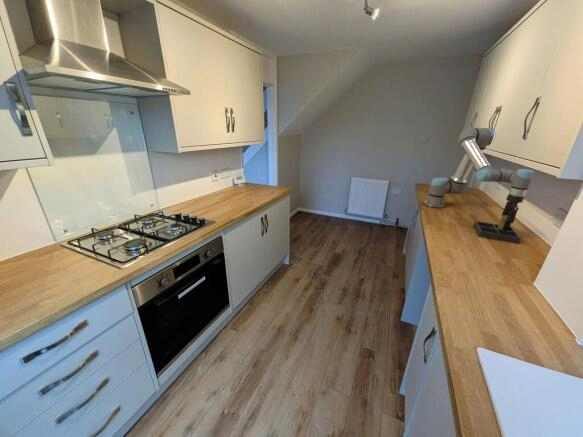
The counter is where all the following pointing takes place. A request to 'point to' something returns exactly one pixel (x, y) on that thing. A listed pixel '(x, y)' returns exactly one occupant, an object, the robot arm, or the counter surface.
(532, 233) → the counter surface
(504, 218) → the cork
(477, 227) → the grid
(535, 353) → the counter surface
